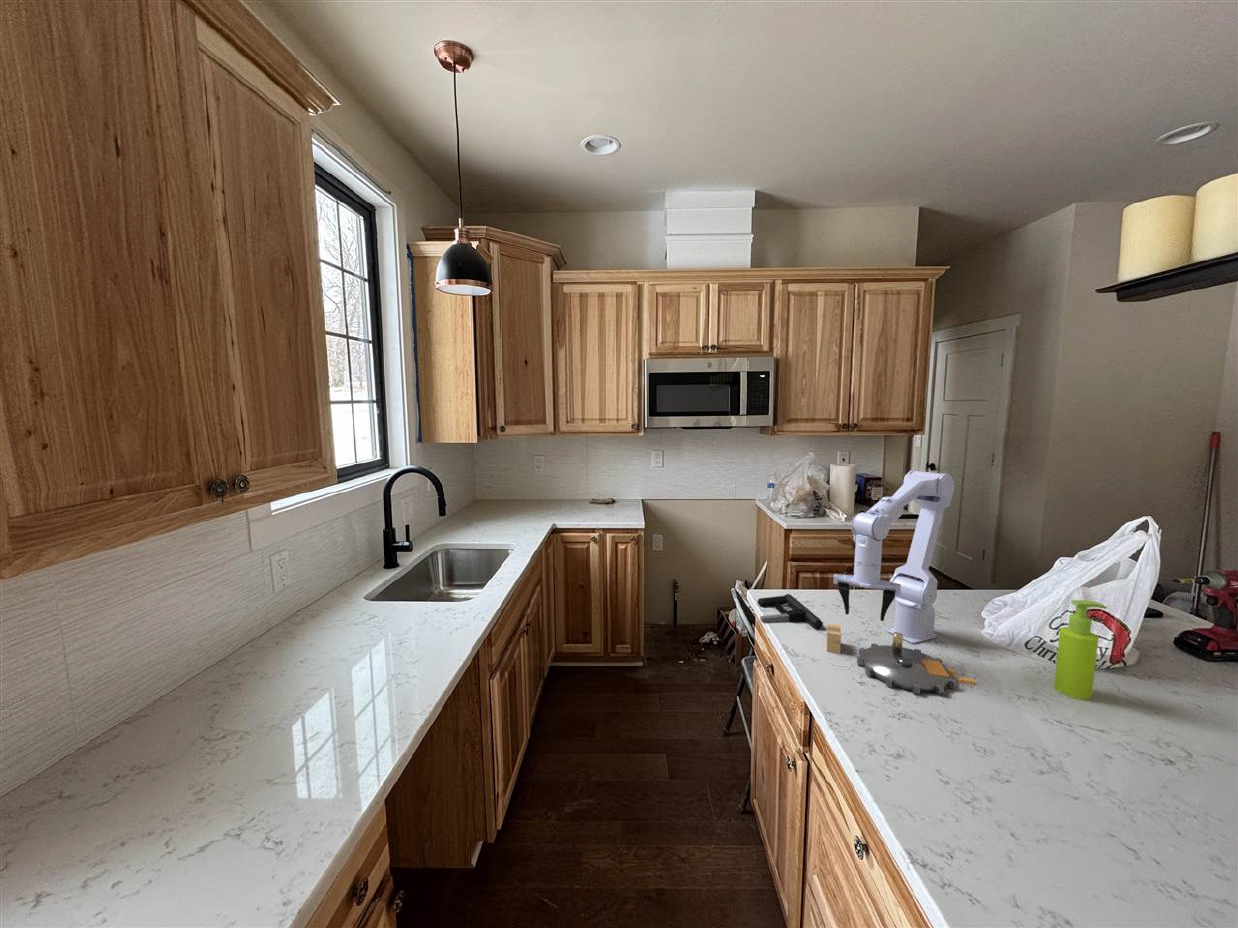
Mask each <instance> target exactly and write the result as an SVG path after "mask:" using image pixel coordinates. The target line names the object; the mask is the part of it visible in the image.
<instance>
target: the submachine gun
mask: <svg viewBox="0 0 1238 928" xmlns="http://www.w3.org/2000/svg"><path fill="white" fill-rule="evenodd" d="M797 599H798V598H796V597H794V596H793V595H792V594H790V593H786V594H784V595H779V596H770V597H769V596H768V597H761V598H758V600H757V604H758V606H759V607H761V608H764V607H765V608H766V607H767V608H768V607H773V608H775V609H776V610H777V611H778V612H779V613H778V614H777V613H776V614H769V615H760V622H761V623H763V624H766V623H767V624H768V623H785V622H790V623H803V622H806V623H808V624H809V625H810V626H811V627H812V628H814V629H816V630H820V629H822V627H823V625H824V622H823V621H822V620H821V619H820V617H818V616H817V615H816V614H815V613H813V612H812V611H811V610H809V608H807V607H806V606H805V605H804V604H802V603H801V602H800V601H799V600H797ZM786 607H789V608H790V609H787V610H786Z"/></svg>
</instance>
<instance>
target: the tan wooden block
mask: <svg viewBox="0 0 1238 928" xmlns="http://www.w3.org/2000/svg"><path fill="white" fill-rule="evenodd" d="M826 624H827V625H826V627H827V628H826V652H828V653H835V654H837V655H838V654H841V645H842V643H841V641H842V631H841V625H840V624H836V623H831V622H830V623H829V622H827V623H826Z"/></svg>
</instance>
